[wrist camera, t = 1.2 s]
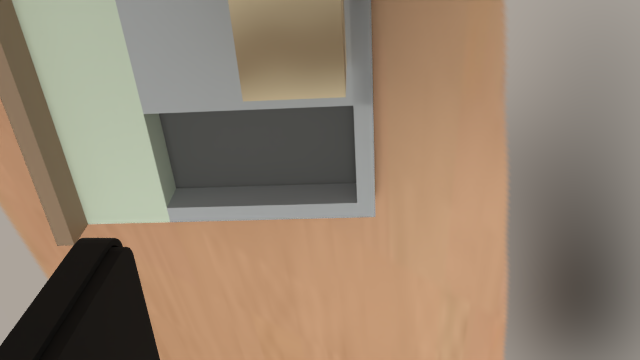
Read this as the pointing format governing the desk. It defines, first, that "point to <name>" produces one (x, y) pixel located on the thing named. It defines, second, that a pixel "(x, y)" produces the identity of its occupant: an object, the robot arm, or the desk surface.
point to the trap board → (175, 118)
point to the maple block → (289, 48)
